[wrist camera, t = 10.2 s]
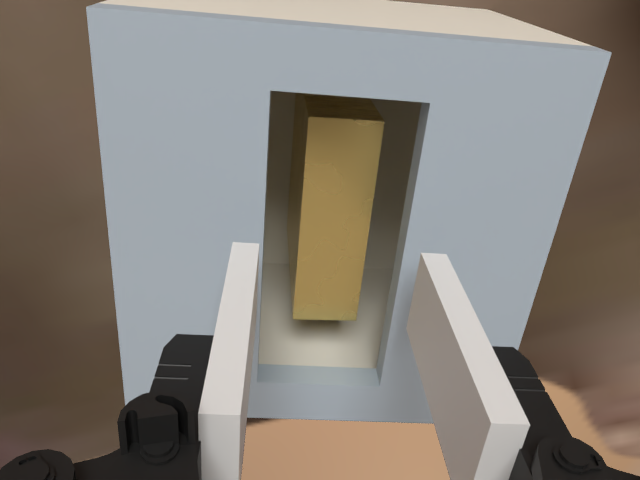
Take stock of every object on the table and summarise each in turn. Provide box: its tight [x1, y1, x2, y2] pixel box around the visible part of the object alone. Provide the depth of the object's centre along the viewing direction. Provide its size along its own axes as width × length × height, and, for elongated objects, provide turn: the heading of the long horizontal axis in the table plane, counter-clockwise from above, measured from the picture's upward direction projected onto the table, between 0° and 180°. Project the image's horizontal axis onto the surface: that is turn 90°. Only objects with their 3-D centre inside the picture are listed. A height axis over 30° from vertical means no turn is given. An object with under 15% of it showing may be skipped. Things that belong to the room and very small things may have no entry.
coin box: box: [86, 0, 612, 424], centre depth 23 cm, size 14×14×11 cm
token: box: [287, 93, 385, 321], centre depth 24 cm, size 8×2×8 cm, turn 175°
